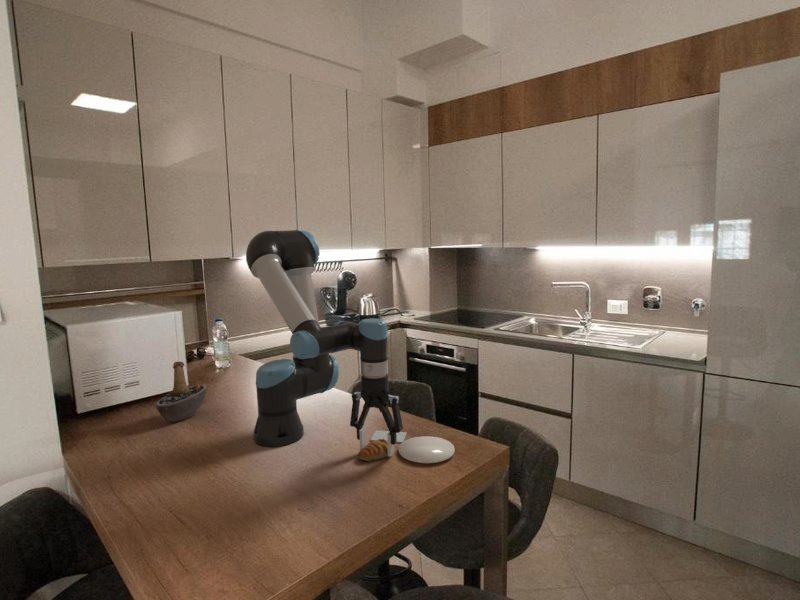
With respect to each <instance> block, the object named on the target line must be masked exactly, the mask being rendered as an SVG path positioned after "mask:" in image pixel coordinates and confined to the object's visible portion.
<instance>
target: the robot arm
mask: <svg viewBox="0 0 800 600" xmlns="http://www.w3.org/2000/svg"><path fill="white" fill-rule="evenodd" d="M245 257H246V259H245V261H246V264H247V267H248V269H249V271H250V273H251V275H252V276H254V277H255V278H257V279H259V281H260V283H261V285H262V286H263V288H264V290H265V291H266V292H267V294H268V295H269V297H270V299H271V301H272V302H273V304H274V306H275V307H276V309H277V311H278V313H279V314H280V316H281V317H282V320H283V321H284V323H285V324H286V326H287V327H288V329H289V331H290V332H291V334H292V335H291V337H290V339H289V346H290V347H291V353H292V354H293V355H292V359H290V358H282V359H275V360H271V361H268V362H266V363H264V364H262V365H260V366H259V367H258V369H257V370H256V372H255V374H256V375H255V386H256V399H257V414H258V415H257V418H256V422H255V425H254V430H253V441H254V443H255V444H256V445H259V446H263V447H271V448H273V447H283V446H287V445H290V444H293V443H296V442H297V441H299V440H301V439H302V438H303V436H304V434H305V433H304V425H303V423H302V420H301V418H300V415H299V413H298V410H297V401H298V400H301V399H305V398H308V397H312V396H313V395H314V396H315V395H318V394H323V393H325V392H327V391H330V390H332V389H333V388H334V387H335V386H336V384H337V383H338V381H339V376H340V375H339V374H340V370H339V369H340V367H339V364H338V361H337V360H336V358H335V356H333V355H332V354H334V353H339V352H343V351H347V350H355V351H356V352H357V351H358V352H359V353H360V373H361V376H360V377H361V379H360V382H361V384H360V385H361V391H357V390H356V391H355V392H353V393H352V394H351V400H352V404H351V406H352V407H351V413H350V420H349V421H350V423H349V426H350V427H353V428H355V429H356V439H357V440H358V441H359V452H360V451H361V450H362V449H363V448H364V447H365V446H366V445H367V430H366V429H367V427H366V426H364V424H365V421H366V419H367V417H368V414H369V412H370V409H372V408H373V409H374V408H376V409H378V410H379V412H380V413H381V415H382V417H383V420H384V422H385V424H386V427H387V429H388V431H389V433H388V434H387V441H388V456H387V457H389V458H391V456H392V455H394V453H395V445H396V441H397V436H396V433H399V432H402V430H403V429H404V425H403V421H402V414H401V411H400V410H401V409H400V408H401V407H400V405H399V403H400V396H399V395H398V394H397V395H392V394H390V391H389V375H388V374H389V364H388V363H389V361H388V358H389V357H388V335H389V334H388V329H387V322H386V320H384V319H382V318H375V317H371V318H364V319H361V320H360V321H359V323H357V322H353V321H350V320H346V321H345V320H341V321H337V322H336V323H334V324H333V325H327V326H321V325H320V322H319V314H318V310H317V303H316V298H315V291H314V283H313V279H312V277H313V276H312V274H313V273H314V270H315V269H316V268H315V264H317V262H318V261H319V257H320V247H319V243H318V241H317V239H316V237H315V236H314V235H313V234H311V232H309V231H307V230H298V229H295V230H293V229H292V230H290V229H289V230H265V231H261V232H259V233H257V234H255V236H253V237H252V238H251V240H249V243H248V245H247V247H246V252H245ZM361 399H362V400H363V401H364V404H363V407H362V410H361V413H360V415H359V412H360V403H361ZM388 401H389V403H390V405H391V411H392V413H391V411H390V409H389V404H388Z"/></svg>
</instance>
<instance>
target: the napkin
mask: <svg viewBox="0 0 800 600" xmlns="http://www.w3.org/2000/svg"><path fill="white" fill-rule="evenodd" d="M388 433H389V430H375V431H374V433H373V434H372V435H371V438H370V442H374V441H377V440H378V439H385V440H386V441H387V434H388ZM407 433H408V432H407V431H400V432H399V433H396V436H397V441H396V443H397V444H401V443H402V442H404V441H405V439H406V436H407ZM387 442H388V441H387ZM396 443H395V444H396Z"/></svg>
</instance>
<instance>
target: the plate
mask: <svg viewBox="0 0 800 600" xmlns="http://www.w3.org/2000/svg"><path fill="white" fill-rule="evenodd" d="M398 454H399V455H400V456H401V457H402V458H403V459H405V460H407V461H410V462H414V463H419V464H434V463H435V464H437V463H442V462H443V461H447V460H448V459H450V458H452V457H453V456H454V454H455V446H454V444H452V442H451V441H449V440H447V439H445V438H442V437H438V436H432V435H431V436H430V435H429V436H428V435H427V436H426V435H425V436H423V435H422V436H416V437H415V436H414V437H411V438H408V439H406V440H405V439H404V442H402V443H399V445H398Z"/></svg>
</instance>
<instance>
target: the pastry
mask: <svg viewBox="0 0 800 600" xmlns="http://www.w3.org/2000/svg"><path fill="white" fill-rule="evenodd" d="M385 457H389V456H388V442H387V441H386V440H385V439H378V440H377V441H370V442H368V443H366V446H365V447H364V448H363V449H362V450H361V451H360V450H359V452H358V459H359V460H361V461H365V462H372V461H378V460H381V459H384V458H385Z"/></svg>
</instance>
